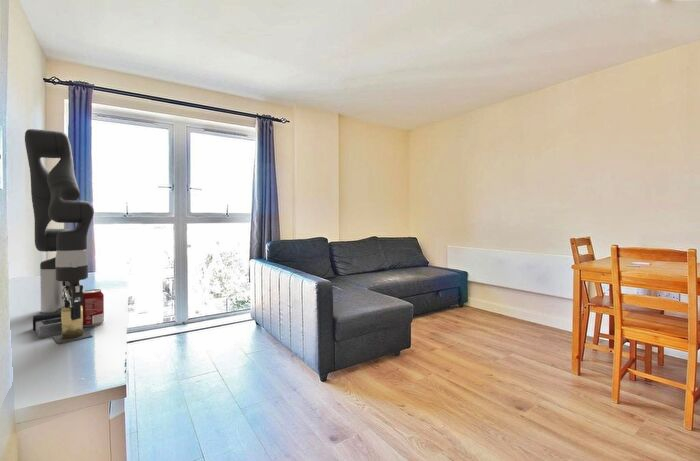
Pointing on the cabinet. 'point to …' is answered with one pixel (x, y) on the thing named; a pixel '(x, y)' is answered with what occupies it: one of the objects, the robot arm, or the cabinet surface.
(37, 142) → the robot arm
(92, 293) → the soda can
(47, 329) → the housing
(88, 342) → the cabinet surface
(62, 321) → the brass cylinder
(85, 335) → the mat
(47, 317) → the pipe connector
